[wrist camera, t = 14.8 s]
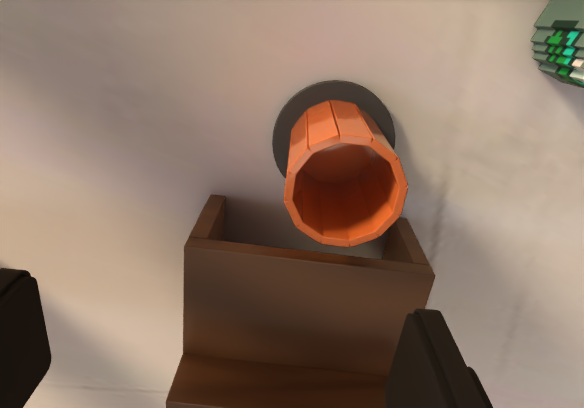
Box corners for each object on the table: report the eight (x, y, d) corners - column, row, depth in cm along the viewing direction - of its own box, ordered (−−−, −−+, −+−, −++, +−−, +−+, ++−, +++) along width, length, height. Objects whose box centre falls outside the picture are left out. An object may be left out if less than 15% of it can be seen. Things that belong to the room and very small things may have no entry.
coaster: (279, 72, 29) (279, 73, 28) (406, 88, 29) (408, 90, 28) (267, 189, 32) (266, 192, 32) (379, 203, 33) (380, 206, 32)
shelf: (210, 194, 33) (163, 284, 22) (407, 218, 33) (457, 318, 22) (206, 294, 37) (165, 412, 26) (380, 314, 37) (412, 438, 26)
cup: (295, 94, 29) (292, 127, 20) (387, 106, 29) (420, 143, 21) (285, 180, 31) (278, 239, 23) (368, 190, 32) (391, 252, 23)
